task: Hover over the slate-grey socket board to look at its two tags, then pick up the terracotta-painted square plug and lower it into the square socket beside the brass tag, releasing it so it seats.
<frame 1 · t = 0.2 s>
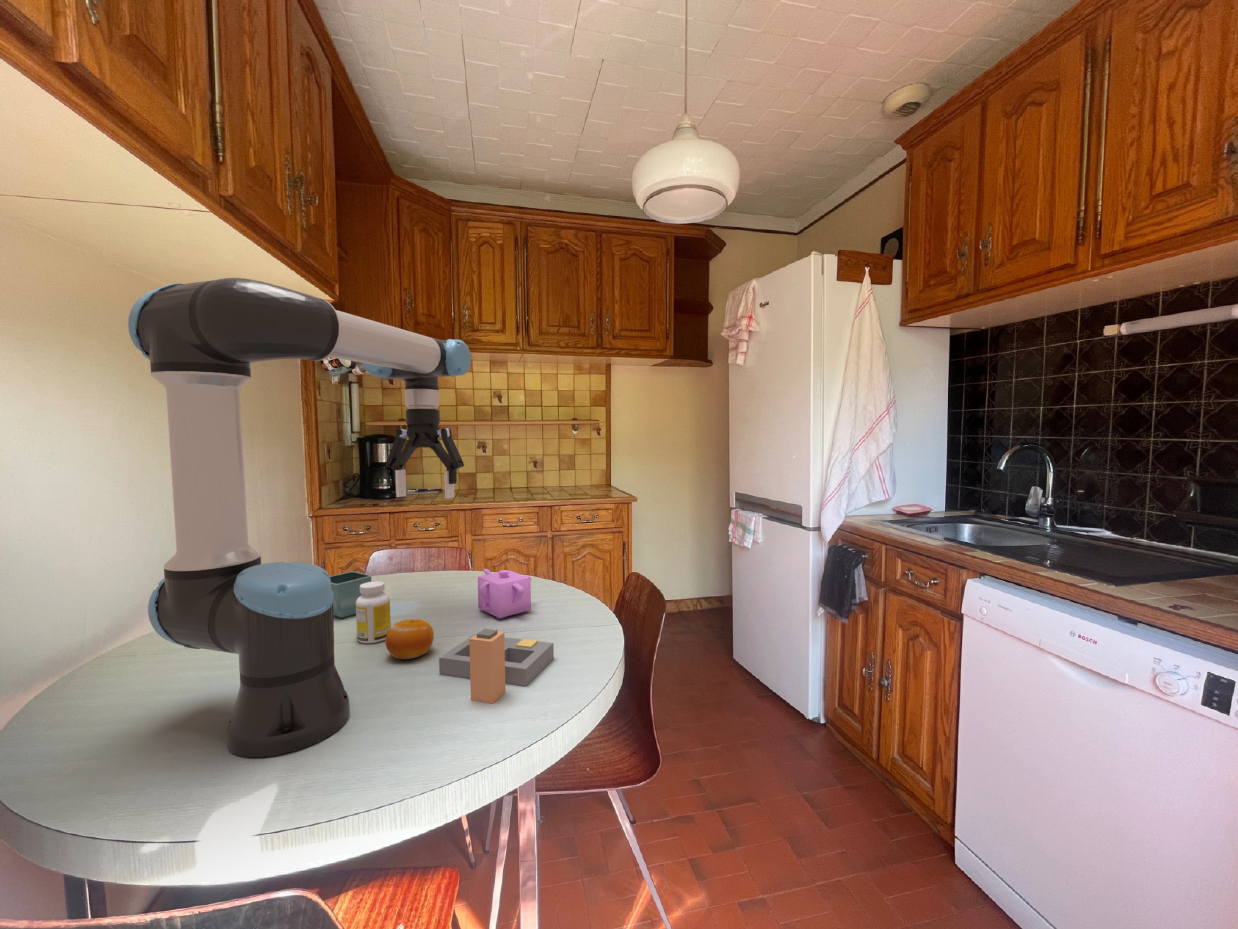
hand: (425, 497, 125), 28 cm above the table, fingers open, 13 cm apart
flower pot: (346, 614, 125), on the table
pill bottle: (374, 639, 110), on the table
fruit: (410, 656, 101), on the table
socket board: (494, 669, 95), on the table
teapot: (505, 612, 127), on the table
plug: (488, 695, 85), on the table
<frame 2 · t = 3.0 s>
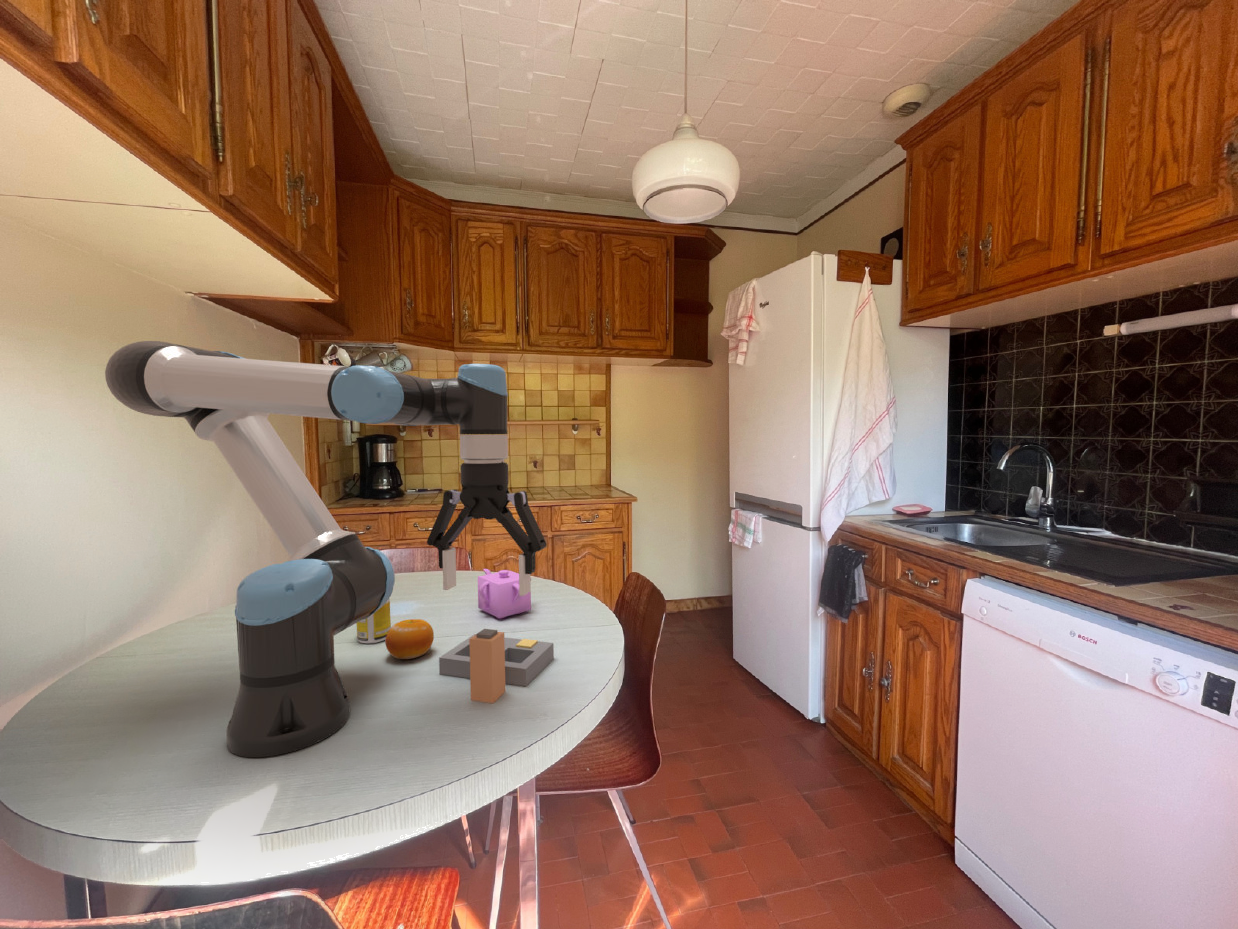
hand: (486, 590, 86), 17 cm above the table, fingers open, 13 cm apart
nothing on the table moved.
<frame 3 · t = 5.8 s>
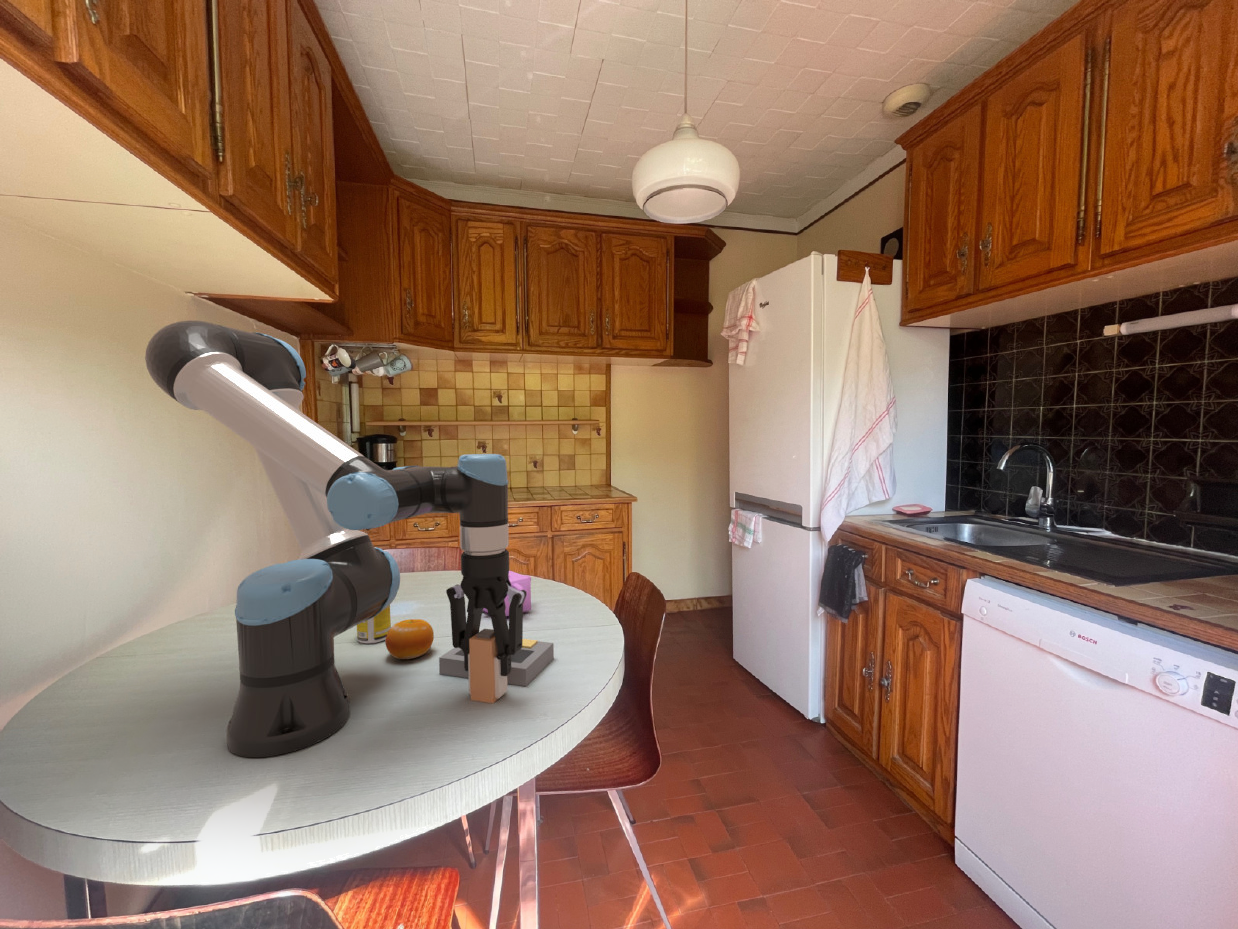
hand: (488, 691, 85), 1 cm above the table, fingers closed on plug, 4 cm apart
plug: (488, 695, 85), on the table, touching gripper
everything else where it was.
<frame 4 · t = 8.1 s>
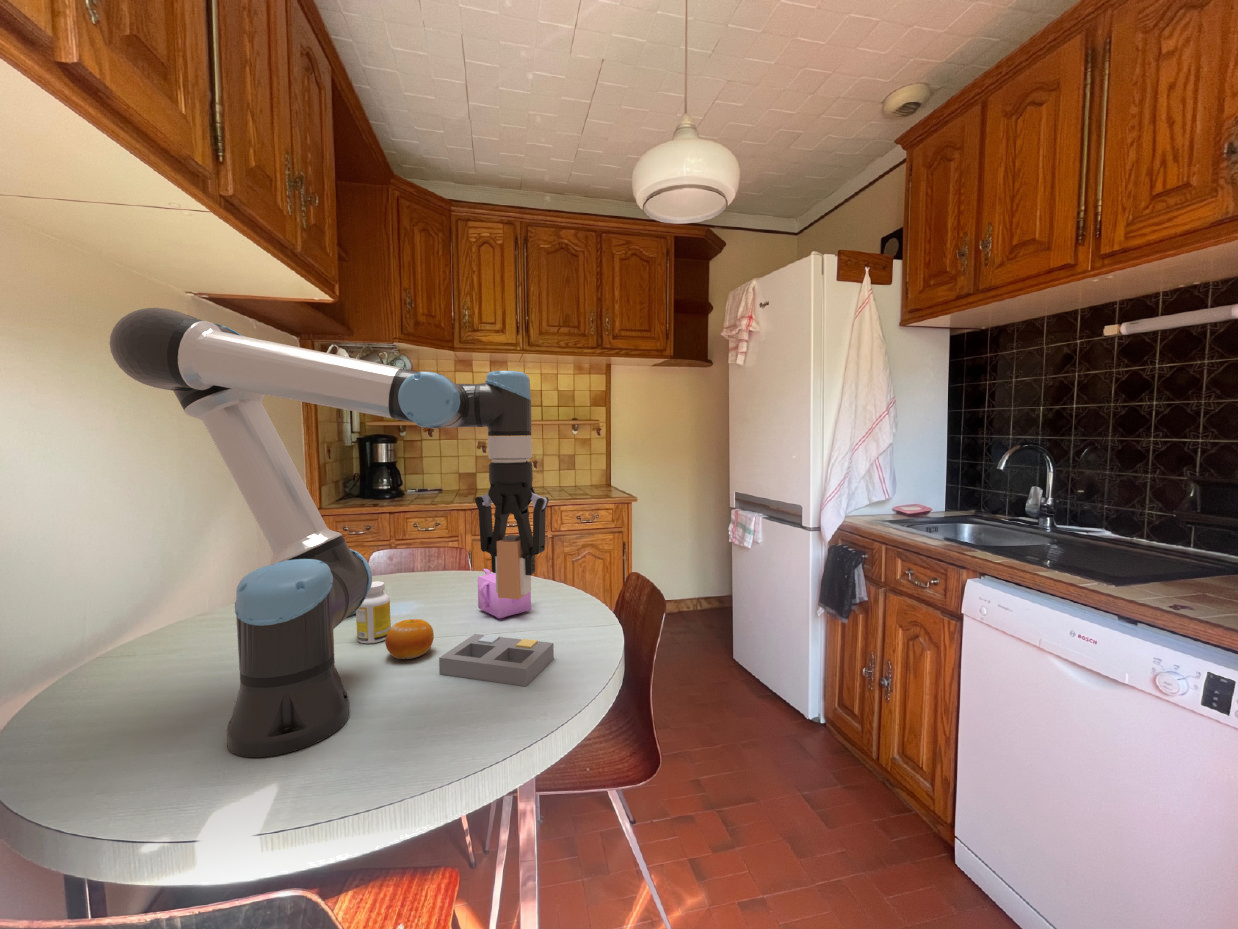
hand: (513, 591, 93), 15 cm above the table, fingers closed on plug, 4 cm apart
plug: (513, 595, 93), point 14 cm above the table, touching gripper
everything else where it was.
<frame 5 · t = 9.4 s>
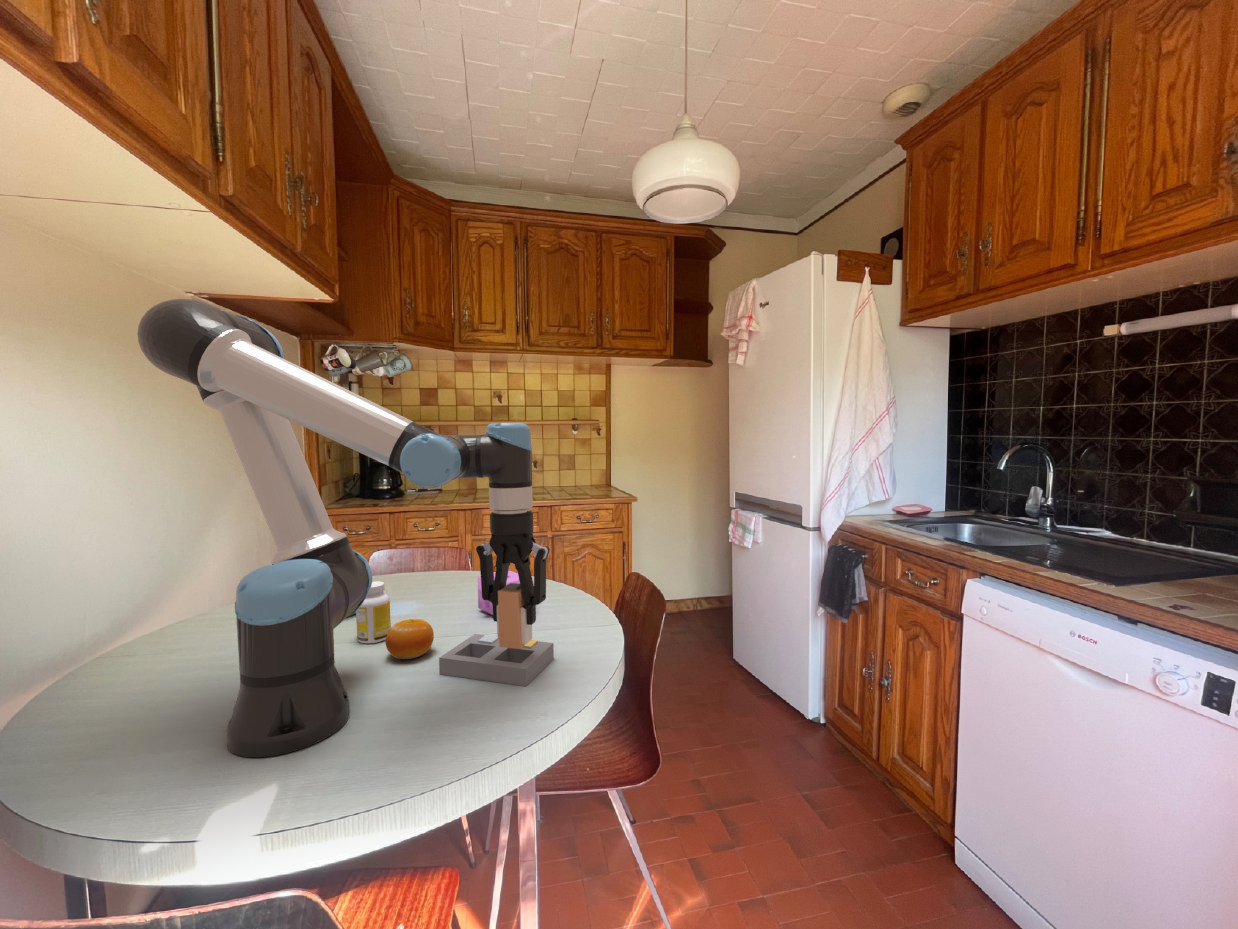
hand: (515, 640, 93), 6 cm above the table, fingers closed on plug, 4 cm apart
plug: (515, 643, 93), point 5 cm above the table, touching gripper
everything else where it was.
when the fingers open (4 cm above the table, at t = 10.5 s): plug drops 3 cm, resting in socket board.
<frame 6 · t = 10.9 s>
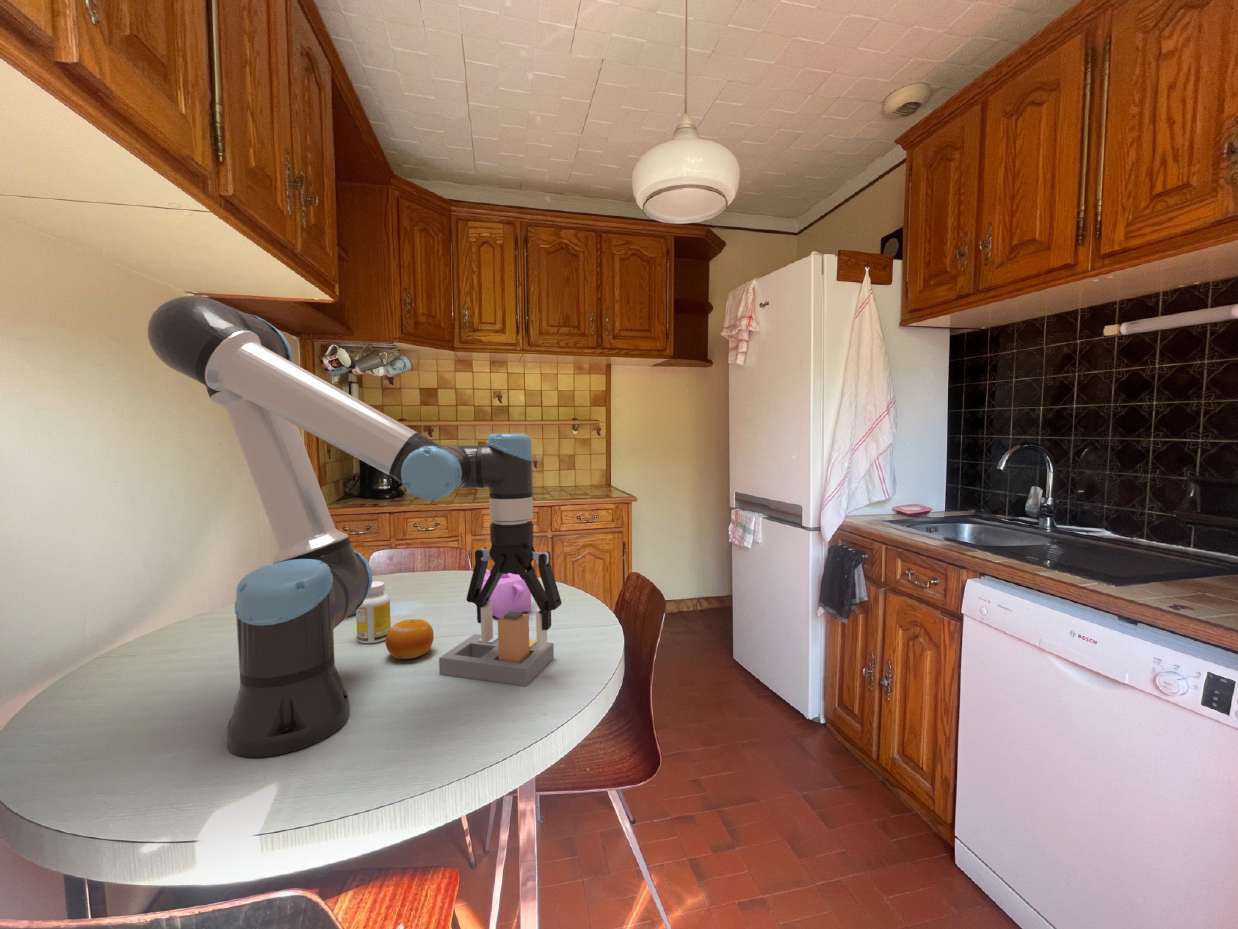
hand: (514, 643, 93), 5 cm above the table, fingers open, 10 cm apart
plug: (514, 671, 94), resting in socket board
everything else where it was.
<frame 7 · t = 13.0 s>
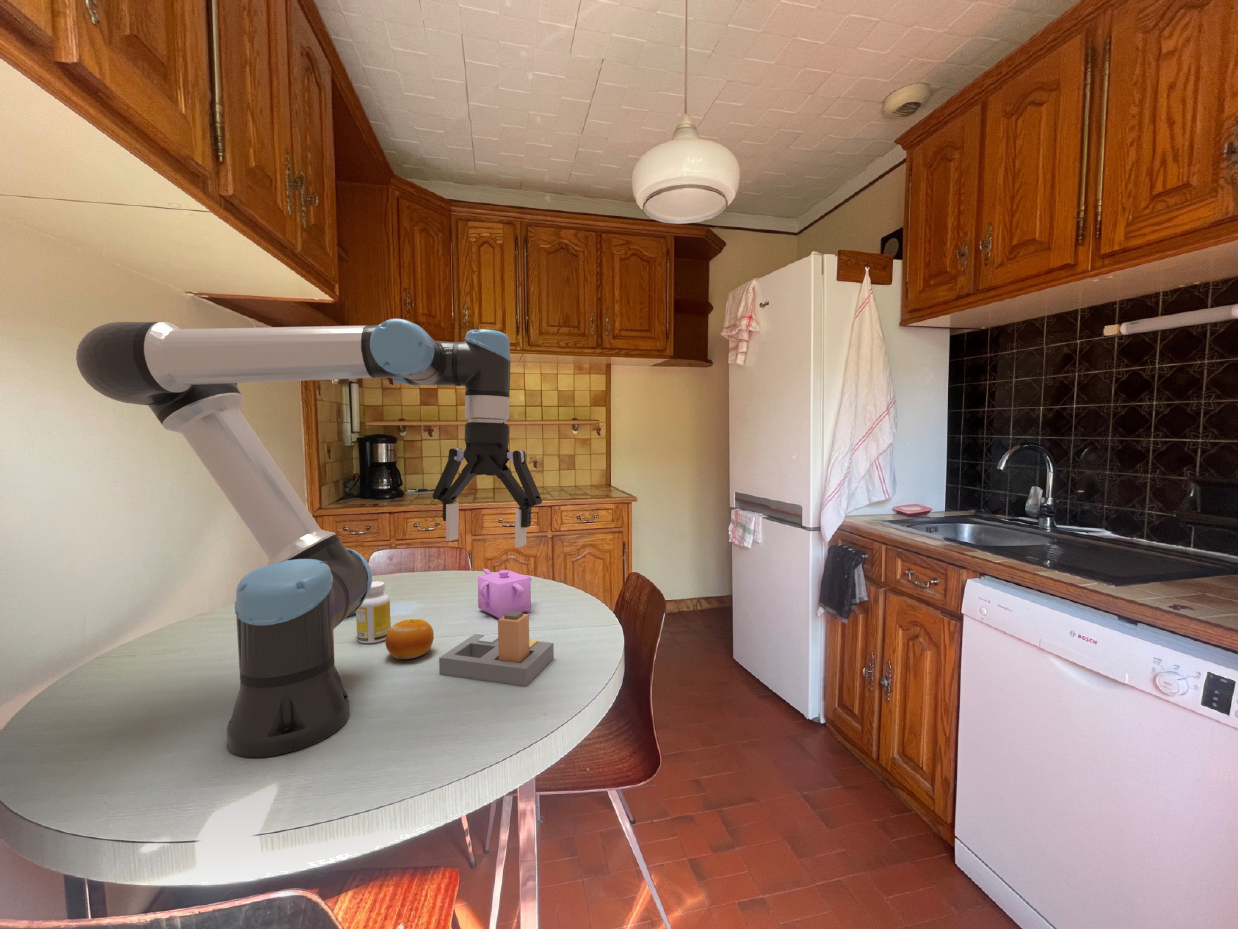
hand: (485, 543, 92), 23 cm above the table, fingers open, 13 cm apart
nothing on the table moved.
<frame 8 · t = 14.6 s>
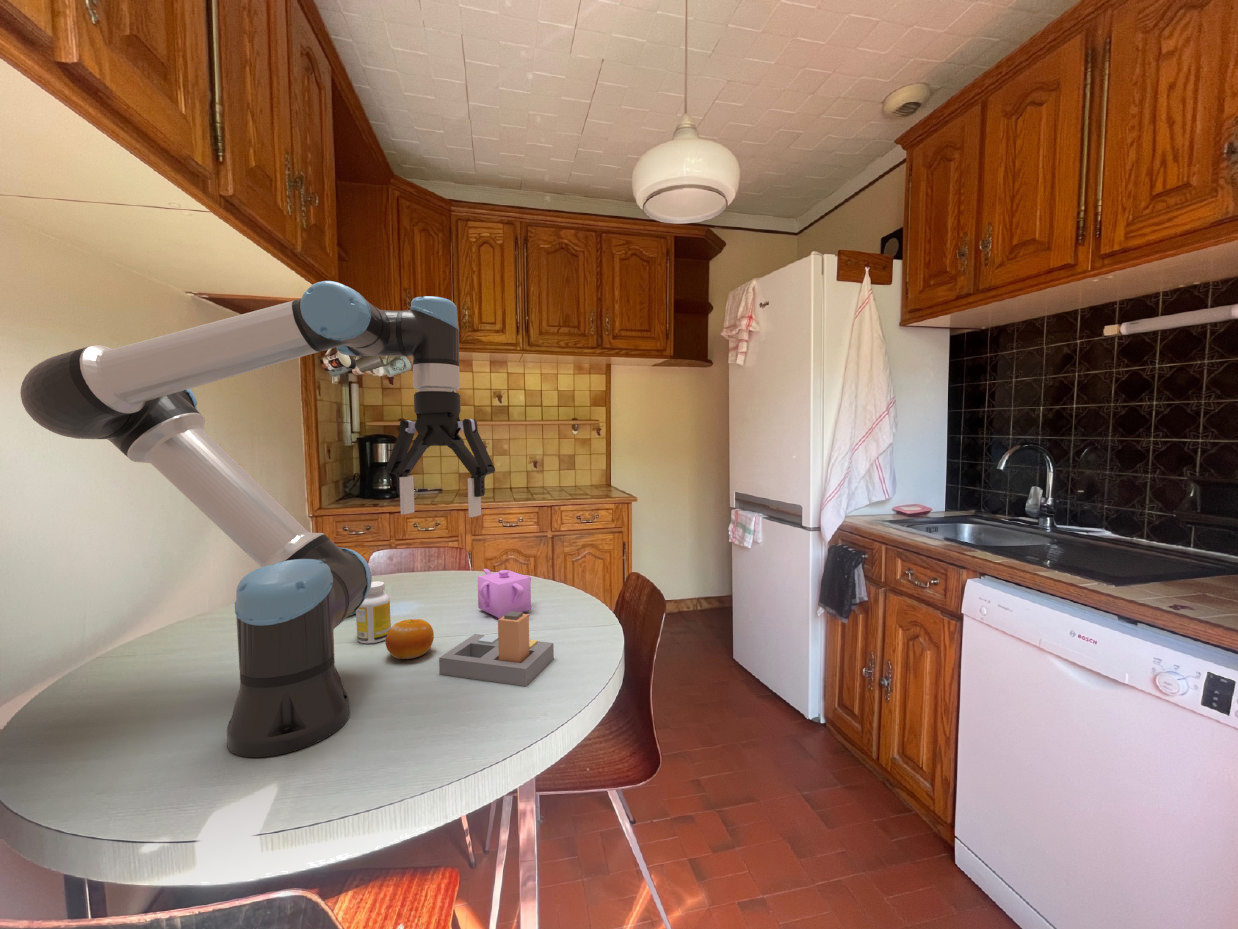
hand: (440, 514, 90), 29 cm above the table, fingers open, 13 cm apart
nothing on the table moved.
at the end: plug 0.0 cm from the target spot on the socket board, point 0.0 cm above the socket board's base; plug tilted 0°; the gripper is holding nothing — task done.
